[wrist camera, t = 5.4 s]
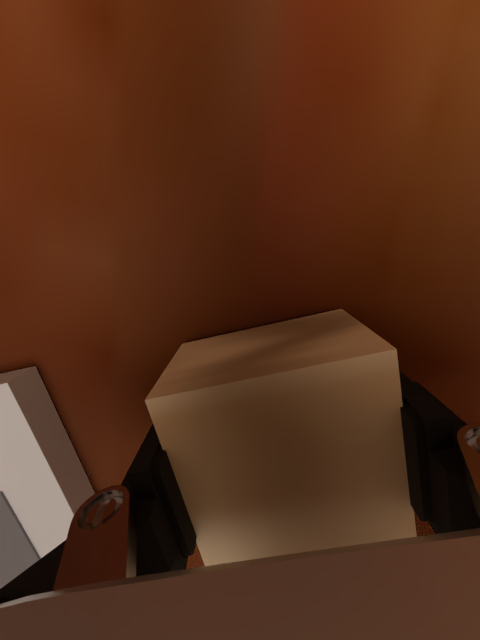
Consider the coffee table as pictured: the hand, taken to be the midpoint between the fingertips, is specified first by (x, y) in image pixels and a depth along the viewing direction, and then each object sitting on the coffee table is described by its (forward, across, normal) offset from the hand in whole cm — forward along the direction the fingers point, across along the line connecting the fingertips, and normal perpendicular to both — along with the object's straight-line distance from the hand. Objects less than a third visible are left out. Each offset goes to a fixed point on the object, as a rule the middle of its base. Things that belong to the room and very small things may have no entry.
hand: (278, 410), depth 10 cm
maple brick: (+1, 0, 0) cm, 1 cm away
